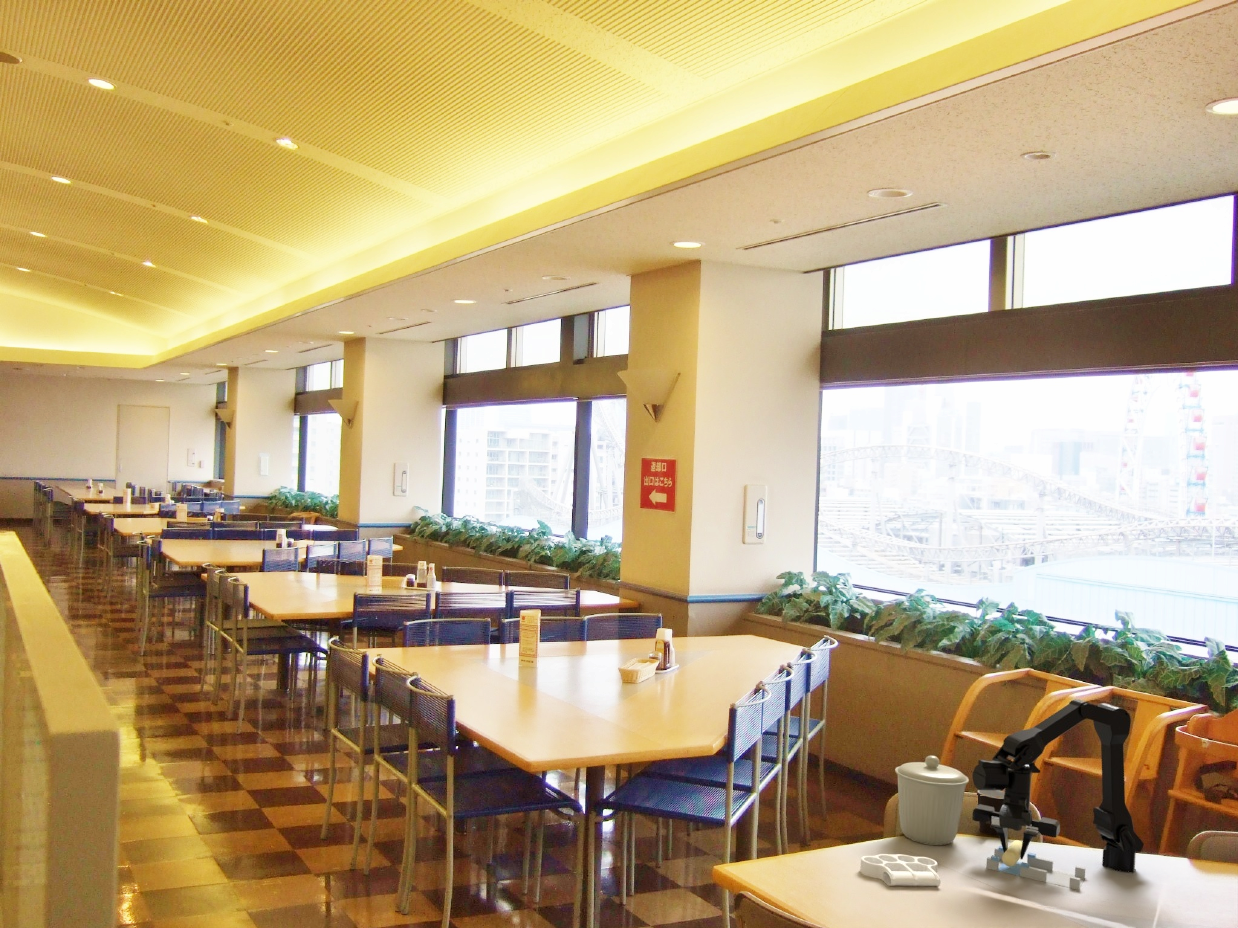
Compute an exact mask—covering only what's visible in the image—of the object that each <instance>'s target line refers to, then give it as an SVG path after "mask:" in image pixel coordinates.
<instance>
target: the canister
mask: <svg viewBox="0 0 1238 928" xmlns="http://www.w3.org/2000/svg"><path fill="white" fill-rule="evenodd" d="M894 772H895V773H896V775H897V791H898V793H897V795H898V812H899V825H900V829H901V832H902V833H903V835H904V836H905V837H906V838H908V839H910V840H911V841H914V842H917V843H918V844H919V843H921V844H924V845H929V844H931V846H945V845H949V844H951V843H953V842H954V840H955V838H956V837H957V835H958V830H959V825H960V820H961V814H962V810H963V809H962V808H963V803H964V802H963V801H964V797H965V791H966V790H965V789H966V786H967V784H968V783H969V781H970V779H969V777H968V776H967V775H965V774H964V773H963V772H961V771H960V770H959V769H956V768H953V767H952V766H951V767H950V766H948V765H944V764H940V759H939V758H938V757H937V756H936V755H928V756H926V757H925V761H924V762H922V761H917V762H916V761H913V762H906V763H903V764H901V765H900V766H896V767H895V769H894Z"/></svg>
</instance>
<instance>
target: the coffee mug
mask: <svg viewBox="0 0 1238 928" xmlns="http://www.w3.org/2000/svg"><path fill="white" fill-rule="evenodd" d="M976 794H977V795H978V804H977V806H978V805H979V804H981V805H986V806H991V807H994V810H995V812H999V813H1000V810H1001V806H1002V804H1003V801H1004V791H1003V790H1002V791H1000V790H978V789H977V791H976ZM980 795H985V796H980ZM986 795H988V796H986ZM989 796H991V797H989ZM995 797H1001V798H995ZM991 822H992V821H991V819H989V821H987V822H986V823H983V822H979V831H980V833H981V832H982V833H984V834H986V835H990V836H995V837H996V836H998V837H999V835H998V833H997V831H996V830H995V829H994V828H991V826H990V825H991Z"/></svg>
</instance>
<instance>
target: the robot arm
mask: <svg viewBox="0 0 1238 928" xmlns="http://www.w3.org/2000/svg"><path fill="white" fill-rule="evenodd" d="M1087 719H1088V720H1091V721H1093V727H1094V730H1095V732H1096V735H1097V736H1098V739H1099V740H1100V749H1101V751H1100V752H1101V755H1100V756H1101V786H1102V787H1101V788H1102V800H1101V801H1102V802H1101V803H1100V804H1099V806H1098V807H1096V806H1094V807H1093V809H1092V810H1093V811H1092V812H1093V821H1092V824H1093V825H1094V826H1095V829H1096V831H1097V832H1098V833H1099V836H1100V839H1101V841H1103V842H1105V843H1106V844H1105V846H1104V848H1103V849H1102V863H1101V865H1102V866H1103V867H1105V868H1108V869H1110V870H1113V871H1117V872H1120V873H1122V872H1123V873H1131V874H1134V873H1135V871H1136V870H1137V869H1136V855H1137V854H1136V853H1141V852H1142V850H1143V847H1144V845H1145V843H1144V842H1143V841H1142V839H1141V838H1140V837H1139V836H1138V835H1137V834H1136V832H1135V828H1134V822H1133V821H1134V820H1133V817H1132V815H1131V813H1130V811H1129V809H1128V806H1127V805H1126V794H1125V793H1126V791H1125V789H1126V788H1125V784H1126V783H1125V756H1124V754H1125V753H1124V746H1125V745H1124V744H1125V742H1126V740H1127V739H1128V737H1129V735H1130V731H1131V725H1132V724H1131V723H1132V718H1131V714H1130V713H1129V712H1128V711H1127V710H1126V709H1124V708H1122V707H1119V706H1116V705H1113V704H1109V703H1106V702H1103V703H1099V704H1098V705H1097V704H1095V703H1094V704H1093V703H1090V702H1088V701H1085V700H1081V699H1080V698H1079V699H1078V698H1076V699H1075V698H1074V699H1072V700H1071V701H1069V703H1068V704H1067V705H1065V706H1064V707H1062V708H1061V709H1059V710H1058V711H1056V712H1055V713H1053V714H1051V715H1050V716H1048V717H1047V718H1046V719H1043V720H1042V721H1040V723H1038V724H1036V725H1035V726H1034V727H1031V728H1028V729H1022V730H1018V731H1016V732H1013V733H1011V734H1008V735H1007V736H1006V737H1005V738H1004V739H1003V744H1002V745H1001V746H1000V748H999V749H998V750H997V752H996V754H994V756H992V760H985V759H978V762H977V764H976V766H974V769H973V771H972V774H971V776H972V777H971V778H972V782H973V785H974V787H975V788H976V789H977V791H978V790H998V791H1002V792H1004V801H1003V804H1002V806H1001V810H1000V813H999V812H995V810H994V807H991V806H986V805H981V804H979V805H978V804H977V806H976V807H975V808H973V810H972V819H971V820H972V821H974V822H983V823H986V822H987V821H989V819H991V821H992V822H991V825H990V826H991V828H994V829H995V830H996V831H997V833H998V835H999V836H998V837H999V841H1000V844H1001V846H1002V848H1003V852H1004V853H1005V851H1006V850H1007V849H1008V848H1009V831H1008V830H1010V829H1011V830H1013V831H1016V832H1020V831H1021V830H1022V828H1023V827H1025V830H1024V831H1023V834H1022V835H1023V838H1022V841H1021V842H1022V848H1021V856H1020V859H1019V860H1023V859H1024V857H1025V854H1026V853H1027V850H1028V847H1029V846H1030V843H1031V841H1032V840H1033V838H1037V837H1039V835H1041V836H1043V837H1044V836H1045V837H1049V838H1057V837H1058V835H1059V834H1060V832H1061V828H1060V827H1061V823H1060V821H1059V820H1057V819H1054V818H1049V817H1043V816H1042V817H1041V818H1040V820H1036V819H1033V813H1032V810H1030V809H1031V808H1030V805H1031V792H1032V791H1031V790H1032V789H1031V786H1032V774H1040V773H1041V770H1040V768H1038V767H1037V765H1036V764H1035V763H1034V762H1035V761H1036V760H1037V759H1039V757H1040V756H1042V754H1043V752H1044V750H1045V748H1046V747H1047V746H1048V745H1049V744H1050V743H1051V742H1053V741H1055V740H1056V739H1057V738H1059V737H1061V736H1062V735H1064V734H1065V733H1067V732H1068V731H1069V730H1071V729H1072V728H1074V727H1075V726H1077V725H1078V724H1080V723H1082V722H1083V721H1085V720H1087Z"/></svg>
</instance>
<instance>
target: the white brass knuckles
mask: <svg viewBox="0 0 1238 928" xmlns="http://www.w3.org/2000/svg"><path fill="white" fill-rule="evenodd" d="M859 871H860V874H862V875H864V876H866V877H869V878H873V879H874V878H875V879H880V880H882V881H884V883H885V884H886V885H887V886H889V887H895V886H898V887H899V886H902V887H905V886H906V887H908V886H909V887H935V886H937V887H939V886H941V878H940V876H939V874H938V862H937V861H936V860H935V859H933V858H931V857H927V856H913V855H909V854H899V853H897V854H890V853H889V854H887V853H879V854H876V855H864V856H861V858H860V869H859Z"/></svg>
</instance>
